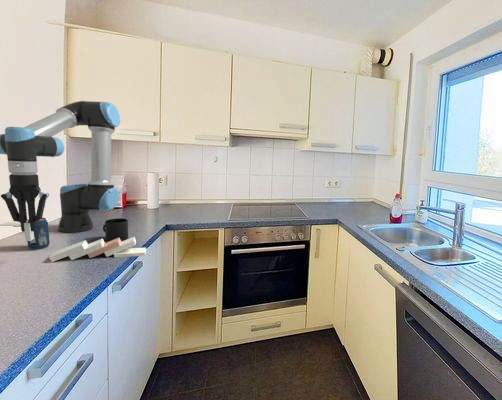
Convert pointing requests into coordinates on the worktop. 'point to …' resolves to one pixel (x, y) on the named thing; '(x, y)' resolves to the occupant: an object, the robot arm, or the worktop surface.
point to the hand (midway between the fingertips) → (29, 239)
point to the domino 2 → (88, 249)
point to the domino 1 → (68, 251)
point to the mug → (116, 229)
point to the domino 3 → (106, 247)
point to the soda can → (40, 235)
